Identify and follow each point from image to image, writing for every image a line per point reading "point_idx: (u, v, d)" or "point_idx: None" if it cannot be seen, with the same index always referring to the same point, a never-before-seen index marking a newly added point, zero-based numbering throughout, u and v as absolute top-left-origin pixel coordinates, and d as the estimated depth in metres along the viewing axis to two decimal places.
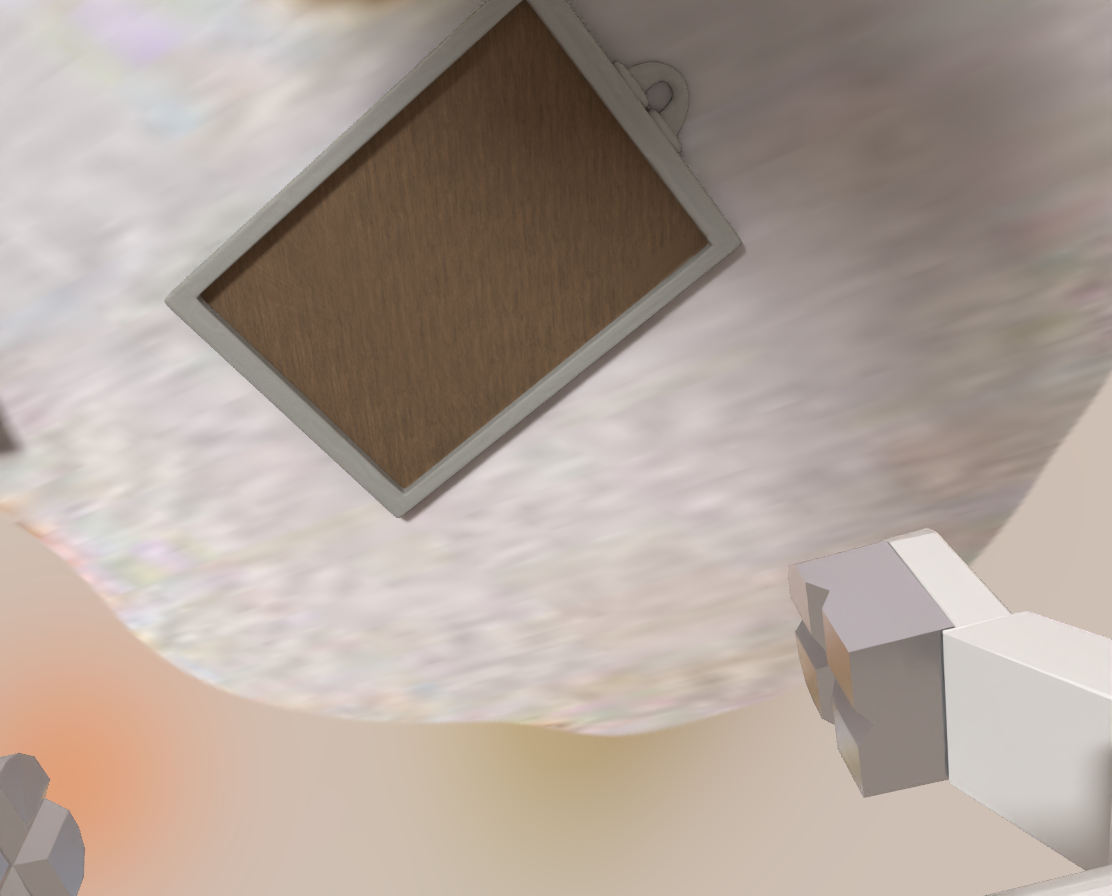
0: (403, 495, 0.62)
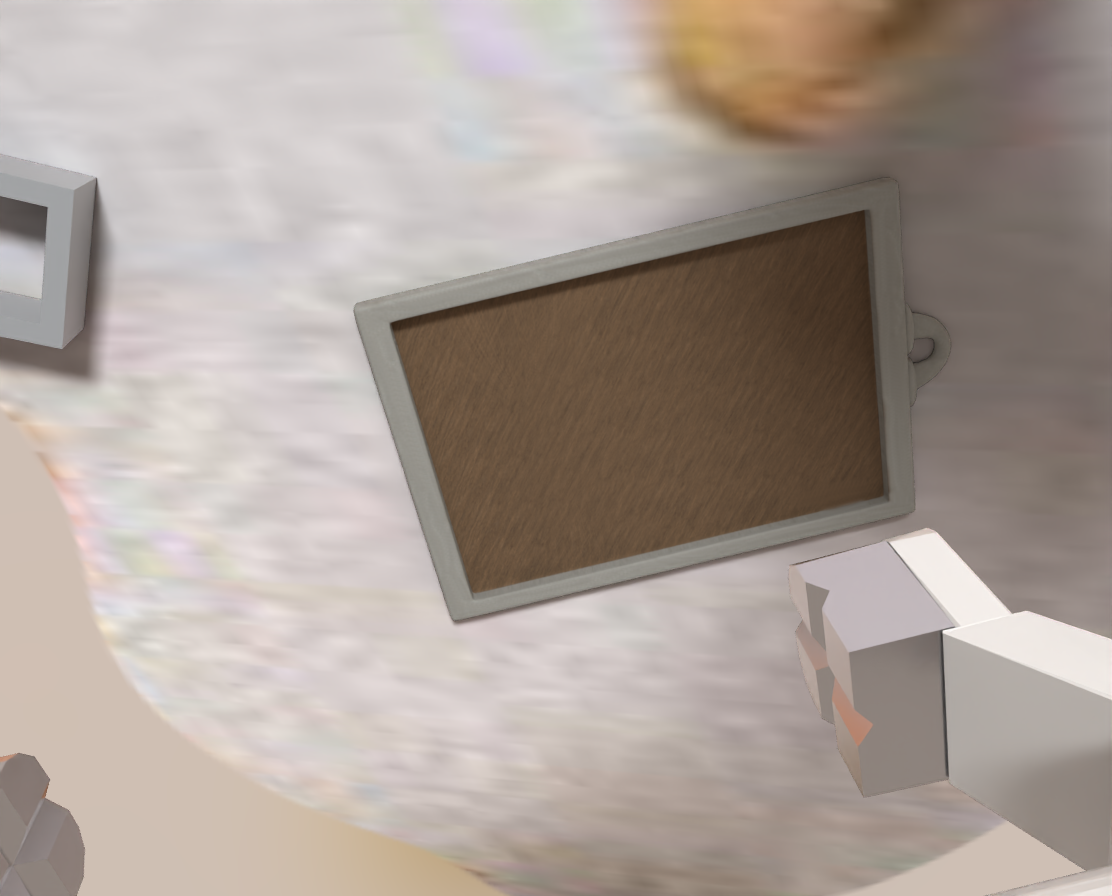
0: (472, 601, 0.55)
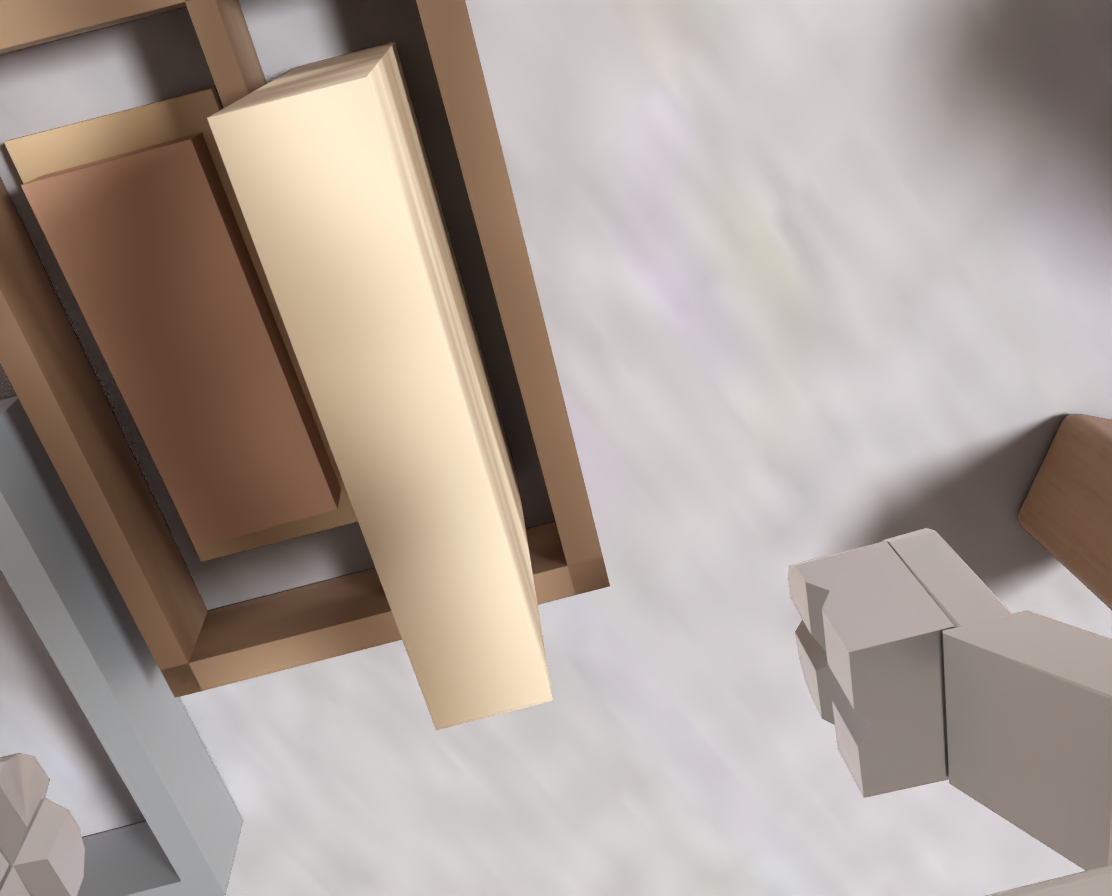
0: None
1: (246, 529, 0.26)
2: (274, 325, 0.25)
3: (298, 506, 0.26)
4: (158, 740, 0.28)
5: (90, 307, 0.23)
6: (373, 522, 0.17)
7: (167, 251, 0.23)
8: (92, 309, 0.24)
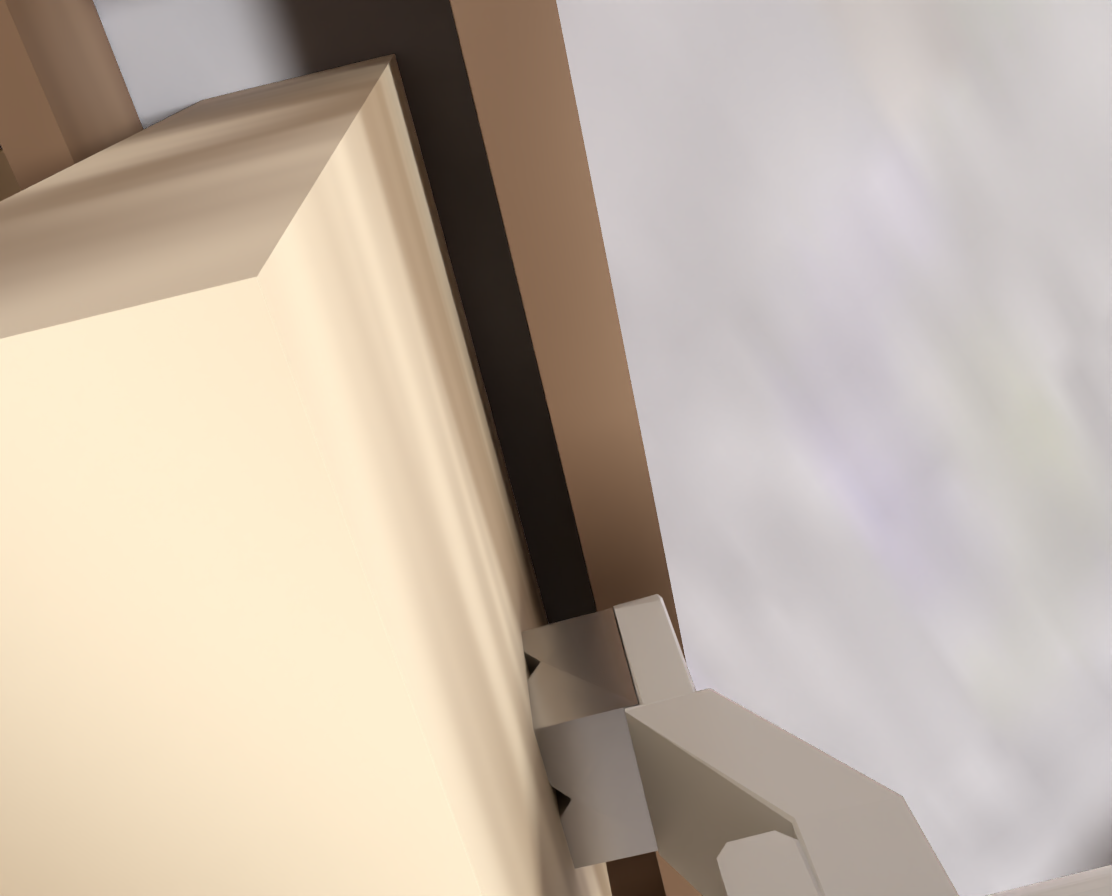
0: None
1: None
2: None
3: None
4: None
5: None
6: None
7: None
8: None
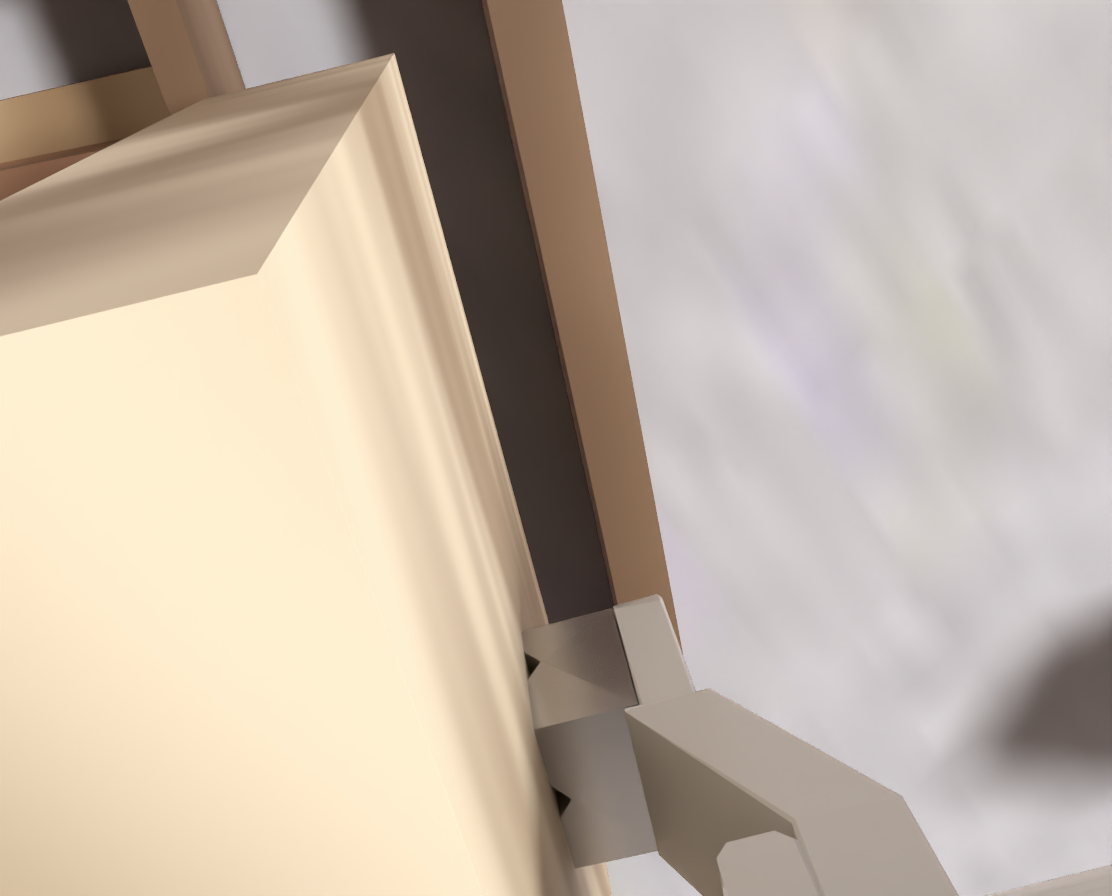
0: None
1: None
2: None
3: None
4: None
5: None
6: None
7: None
8: None
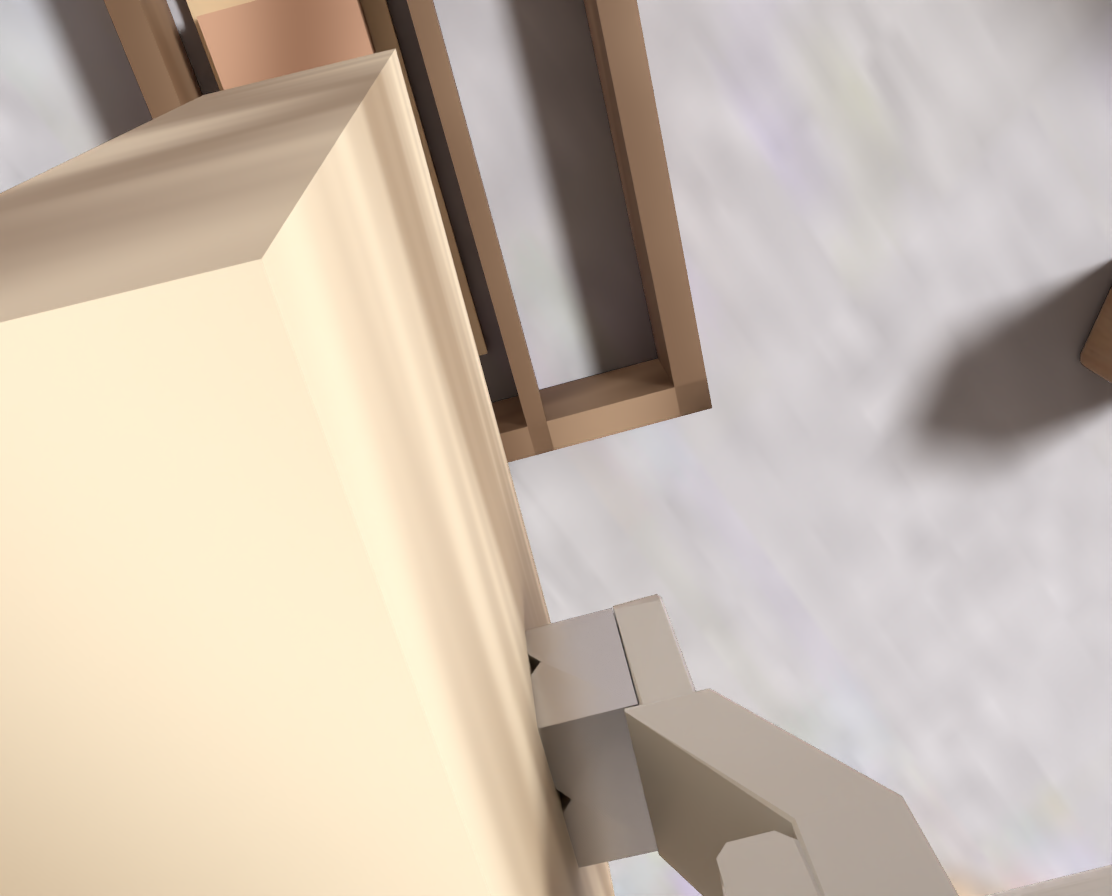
0: None
1: None
2: None
3: None
4: None
5: None
6: None
7: None
8: None
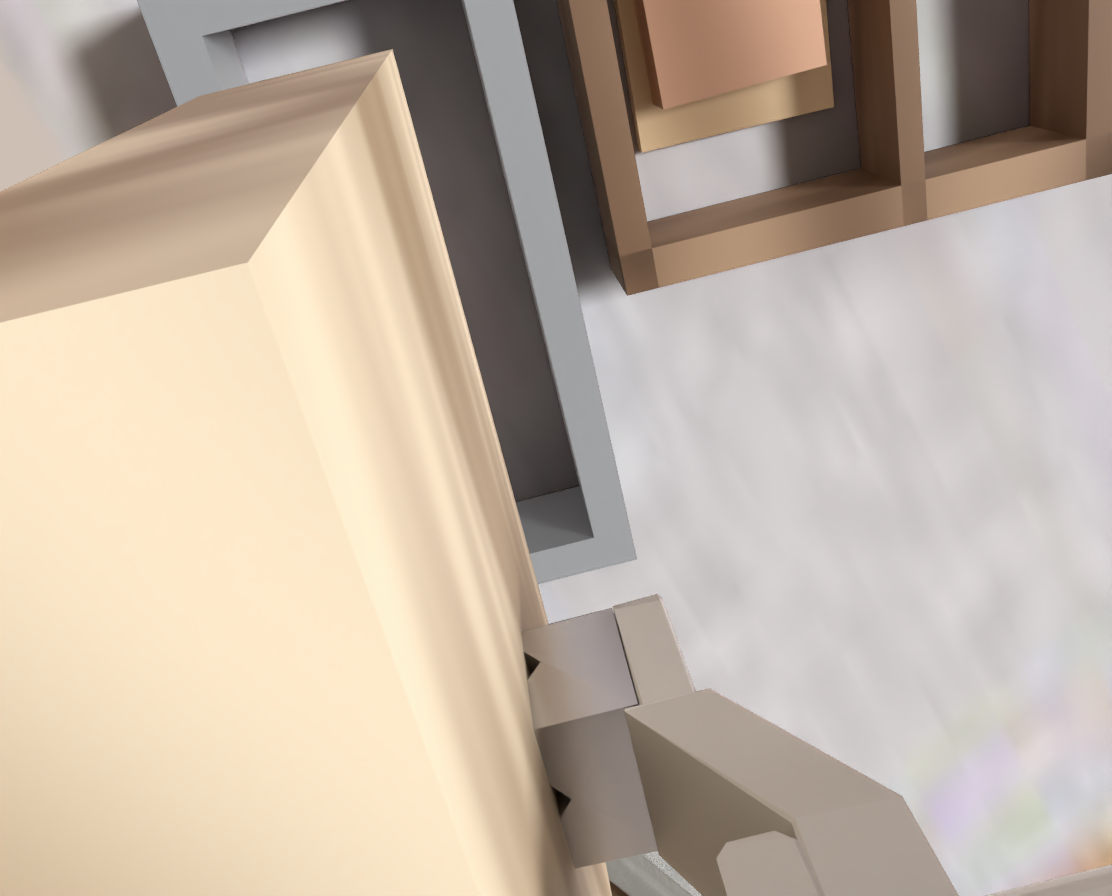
0: None
1: (723, 87, 0.23)
2: None
3: (784, 58, 0.23)
4: None
5: None
6: None
7: None
8: None
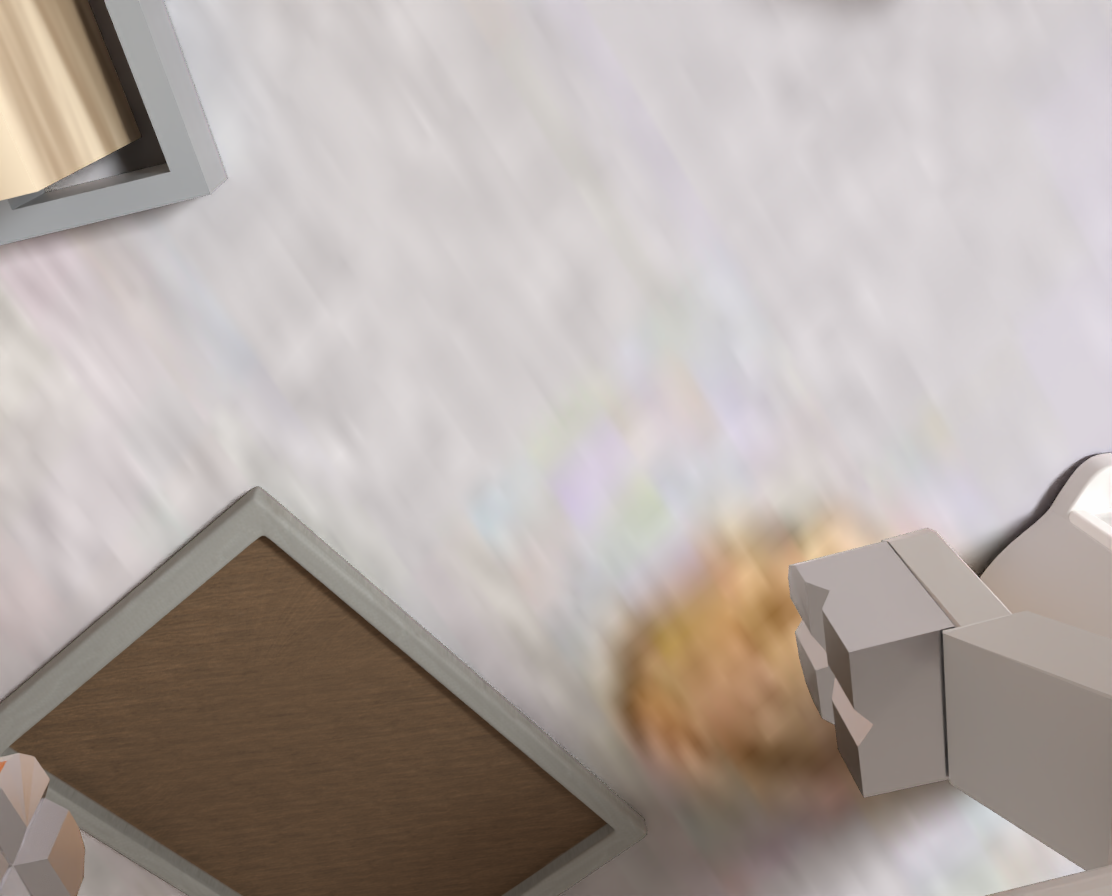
0: None
1: None
2: None
3: None
4: (150, 13, 0.31)
5: None
6: None
7: None
8: None
